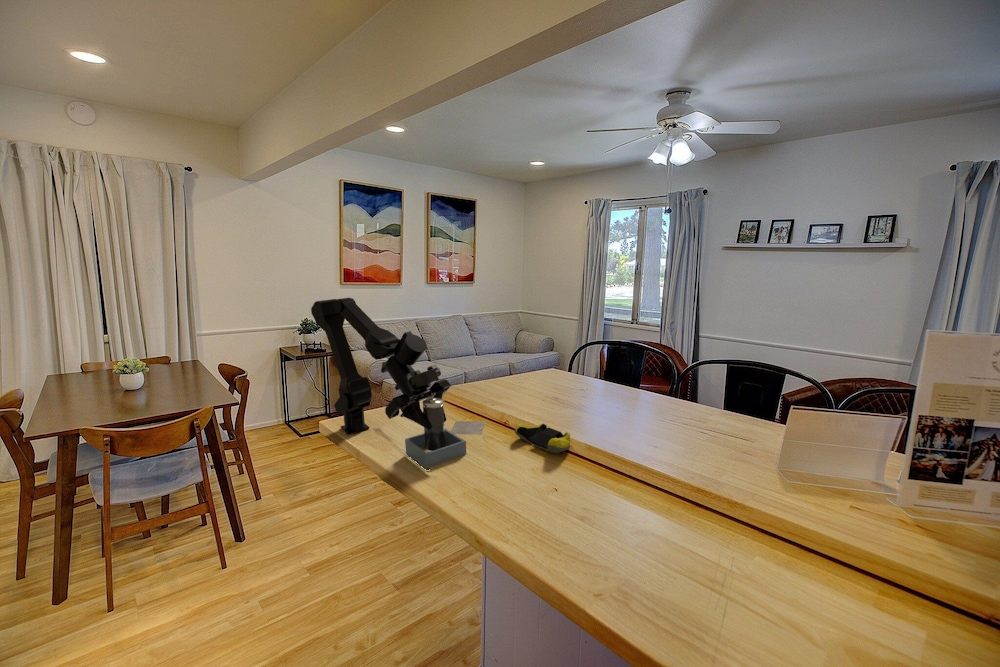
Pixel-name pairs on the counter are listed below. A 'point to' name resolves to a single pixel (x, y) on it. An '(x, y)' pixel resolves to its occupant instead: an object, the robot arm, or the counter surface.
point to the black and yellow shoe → (544, 437)
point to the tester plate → (468, 427)
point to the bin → (437, 456)
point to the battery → (434, 424)
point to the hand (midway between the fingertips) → (437, 424)
